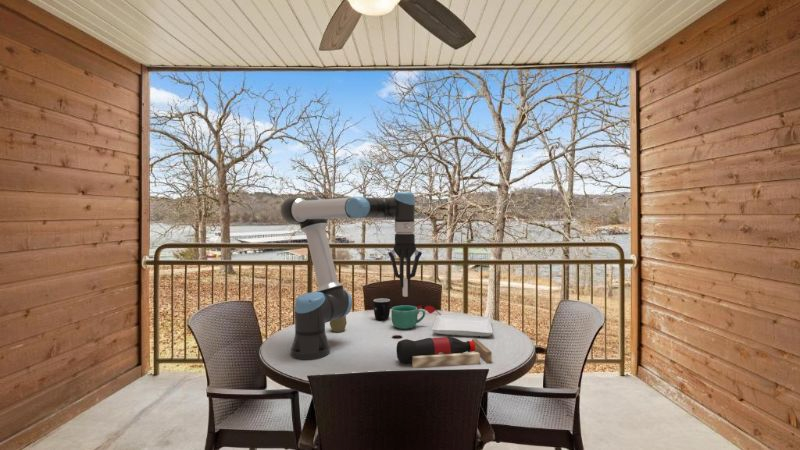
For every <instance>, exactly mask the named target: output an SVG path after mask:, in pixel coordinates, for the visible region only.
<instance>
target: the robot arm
mask: <svg viewBox="0 0 800 450" xmlns="http://www.w3.org/2000/svg"><path fill="white" fill-rule="evenodd" d="M415 207H416V204H415V195H414V193H413V192H412V191H411V192H410V191H399V192H398V191H396V192H395V193H394V197H363V196H352V197H341V198H339V197H338V198H323V199H322V198H319V197H318V198H317V197H303V196H302V197H301V196H300V197H299V196H293V197H289V198H287V199H285V200H284V201H283V203H282V204H281V206H280V215H281V217H282V219H283V220H284V221H285V222H287V223H288V224H290V225H299V227H300V231H301V232H303V233H304V234H305V236H306V240H307V245H308V249H309V252H310V256H311V257H310V258H311V261H312V266H313V269H314V273H315V278H316V282H317V286H318V287H317V289H316V290H315V291H312V292H305V293H303V294H300V295H299V296H297V297H296V298H295V300H294V308H293V309H294V329H295V330H294V332H295V333H294V337H293V341H292V344H291V347H290V356H291V357H292V358H294V359H297V360H316V359H320V358H324V357H326V356H328V355H329V354H330V349H331V347H330V342H329V340H328V338H327V337H328V336H327V335H326V324H327V323H330V321H333V320H336V319H340V318H342V317H344V316H346V317H347V315H349V313H350V311H351V309H352V307H353V298H352V296H351V293H350V292H348V290H346V289H344V286H343V285H344V284H342V283H340V282H339V280H338V276H337V271H336V268H335V264H334V258H333V256H332V251H331V248H330V242H329V239H328V235H327V231H326V228H327V226H328V221H329V219H330V220H331V219H368V218H370V219H374V218H375V219H381V218H385V219H387V218H393V219H394V233H395V234H394V246H393V249H391V250H390V251H388V252H387V254H388V257H389V258H390V261H391V266H392V270H393V275H394V276H395V277H396V278H397V279H399V287H400V288H402V297H405V298H406V297H409V294H408V293H409V291H408V288H410V287H411V279H412V278H414V277H416V273H417V270H418V265H419V261H420V258H421V256H422V255H423V252H422V251H420V250H419V249H417V246H416V241H415V239H416V235H415V231H416V229H415V228H416V227H415V225H416V224H415V223H416V222H415V209H416V208H415ZM395 254H396V255H397V257H398V258H399V261H398V262H399V271H398V266H397V262H396V258H395V256H396V255H395ZM413 255H414V259H413V264H412V267H411V258H412V256H413ZM404 261H405V262H404ZM404 263H405V264H404ZM404 265H406V266H405V267H404ZM404 268H406V269H405V270H404ZM404 271H405V272H406V273H405V272H404ZM404 273H405V274H406V275H405V274H404Z"/></svg>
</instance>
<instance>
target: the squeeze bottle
mask: <svg viewBox="0 0 800 450" xmlns="http://www.w3.org/2000/svg"><path fill="white" fill-rule="evenodd" d="M347 323H348V322H347V315H346V316H344V317H342V318H340V319H336V320H333V321H330V322H329V327H330V329H331V331H332V332H335V333H341V332H344V331H346V326H347Z"/></svg>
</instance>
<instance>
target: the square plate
mask: <svg viewBox="0 0 800 450" xmlns="http://www.w3.org/2000/svg"><path fill="white" fill-rule="evenodd" d="M431 330H432V331H433V332H434V333H435V334H437V335H442V336H443V335H444V336H454V335H458V337H474V336H480V337H481V338H482V337H488V338H489V337H490V336H491V335H493V334H494V330H493V327H492V318H491V317H490V316H489V317H488V316H477V315H476V316H475V315H453V314H452V315H451V314H449V315H447V314H444V315H443V314H441V315H440V314H437V315H436V317H435V321H434V323H433V325H432V328H431Z"/></svg>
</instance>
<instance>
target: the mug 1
mask: <svg viewBox="0 0 800 450" xmlns="http://www.w3.org/2000/svg"><path fill="white" fill-rule="evenodd" d="M372 301H373V313H374V318H375V320H376V321H380V322H381V321H382V322H383V321H387V320H388V319H389V317H390V314H391V313H390V312H391V299H389V298H382V297H381V298H375V299H373V300H372Z"/></svg>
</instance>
